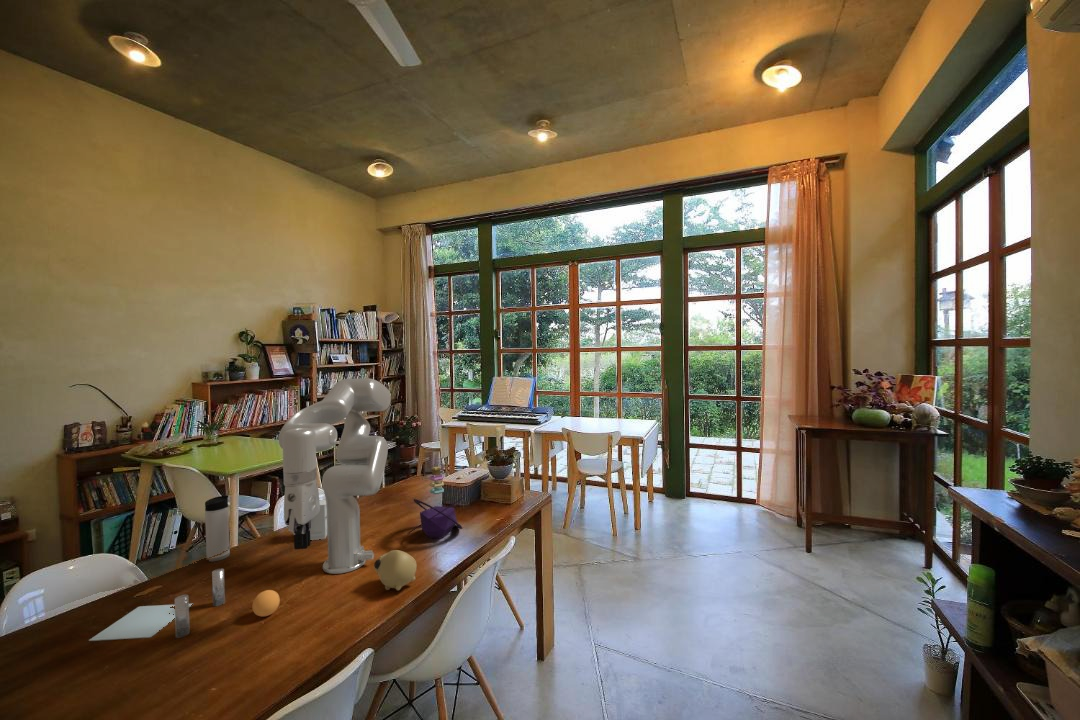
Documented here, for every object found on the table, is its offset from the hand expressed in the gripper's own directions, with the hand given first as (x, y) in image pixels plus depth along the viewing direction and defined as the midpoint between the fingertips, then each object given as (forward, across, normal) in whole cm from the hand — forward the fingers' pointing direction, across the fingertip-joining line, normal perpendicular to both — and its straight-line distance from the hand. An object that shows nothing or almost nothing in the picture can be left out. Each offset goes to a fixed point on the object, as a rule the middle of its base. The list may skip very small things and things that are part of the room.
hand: (302, 547), depth 114 cm
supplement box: (+17, +50, +18) cm, 56 cm away
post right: (+17, +7, +26) cm, 31 cm away
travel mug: (+17, +36, +44) cm, 60 cm away
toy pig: (+17, +11, -20) cm, 29 cm away
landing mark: (+17, 0, +40) cm, 43 cm away
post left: (+17, -6, +26) cm, 31 cm away
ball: (+14, 0, +10) cm, 17 cm away
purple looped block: (+17, +46, -26) cm, 56 cm away
